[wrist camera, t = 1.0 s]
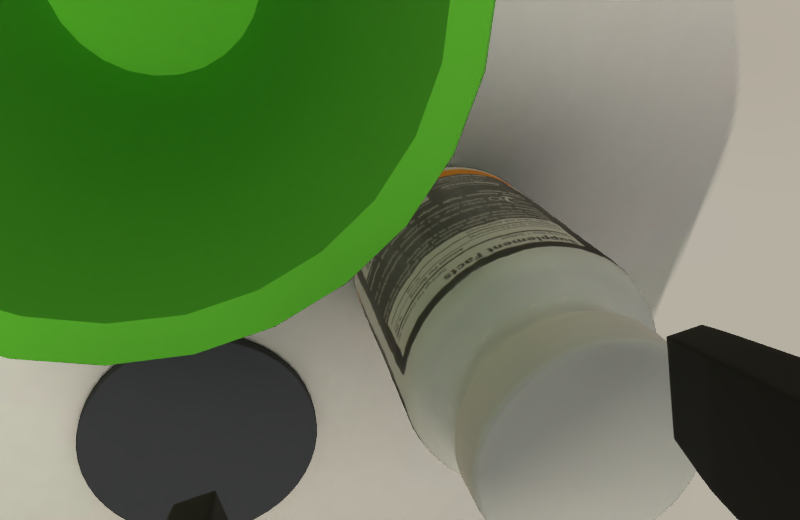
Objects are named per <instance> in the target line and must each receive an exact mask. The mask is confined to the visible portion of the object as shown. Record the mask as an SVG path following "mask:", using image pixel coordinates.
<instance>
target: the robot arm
mask: <svg viewBox="0 0 800 520" xmlns="http://www.w3.org/2000/svg"><path fill="white" fill-rule="evenodd" d="M667 350H668V364H669V378H670V392H671V406H672V420H673V434H674V440H675V441H676V442H677V444H678V445H679V447H680V448H681V449H682V451H683V452H684V454H685V455H686V457H687V458H688V459H689V461H690V462H691V464H692V465H693V467H694V468H695V469H696V471H697V472H698V473H699V475H700V476H701V477H702V479H703V480H704V481H705V483H706V484H707V485H708V487H709V488H710V489H711V490H712V492H713V493H714V494H715V495H716V496H717V497H718V498H719V500H721V502H722V503H723V504H724V505H725V506H726V507H727V508H728V509H729V510H730V511H731V512H732V514H733V515H734V516H735V517H736V518H737V519H738V520H800V357H797V356H794V355H791V354H788V353H786V352H783V351H780V350H777V349H774V348H771V347H768V346H765V345H763V344H759V343H757V342H754V341H751V340H747V339H745V338H742V337H739V336H736V335H733V334H730V333H727V332H724V331H721V330H718V329H715V328H711V327H707V326H704V325H700V326H697V327H694V328H691V329H688V330H685V331H682V332H679V333H676V334H673V335H670V336H667ZM166 520H228V518H227V516H226V513H225V511H224V509H223V507H222V504H221V502H220V500H219V497H218V495H217V493H216V490H214V491H211V492H209V493H206V494H203V495H200V496H197V497H194V498H191V499H188V500H185V501H182V502H179V503H176V504H174V505H173V507H172V508H171V510H170V512H169V514H168V516H167V518H166Z"/></svg>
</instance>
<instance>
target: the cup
mask: <svg viewBox="0 0 800 520" xmlns="http://www.w3.org/2000/svg"><path fill="white" fill-rule="evenodd" d="M495 1H496V0H0V356H2V357H6V358H10V359H22V360H36V361H49V362H63V363H77V364H91V365H104V366H106V365H114V364H122V363H130V362H137V361H145V360H153V359H161V358H169V357H177V356H185V355H193V354H197V353H199V352H202V351H205V350H208V349H211V348H214V347H217V346H220V345H223V344H226V343H229V342H231V341H234V340H237V339H240V338H243V337H246V336H249V335H252V334H255V333H258V332H261V331H264V330H266V329H269V328H272V327H275V326H277V325H278V324H280V323H281V322H283V321H285V320H286V319H288V318H290V317H291V316H293V315H295V314H296V313H298V312H300V311H301V310H303V309H305V308H306V307H308V306H310V305H311V304H313V303H315V302H316V301H318V300H319V299H321V298H323V297H324V296H326V295H328V294H329V293H331V292H333V291H334V290H336V289H338V288H339V287H341V286H343V285H344V284H346V283H347V282H348V281H349V280H350V279H351V278H352V277H354V276H355V275H356V274H357V273H358V272H359V271H360V270H361V269H362V268H363V267H364V266H365V265H366V264H367V263H368V262H369V261H370V260H371V259H372V258H373V257H374V256H375V255H376V254H378V253H379V252H380V251H381V250H382V249H383V248H384V247H385V246H386V245H387V244H388V243H389V242H390V241H391V240H392V239H393V238H394V237H395V236H396V235H397V234H398V233H399V232H400V231H402V230H403V229H404V228H405V227H406V226H407V225H408V223H409V222H410V220H411V218H412V217H413V215H414V214H415V212H416V211H417V209H418V208H419V206H420V205H421V203H422V202H423V200H424V199H425V197H426V196H427V194H428V193H429V191H430V190H431V188H432V187H433V185H434V184H435V182H436V181H437V179H438V178H439V176H440V175H441V173H442V172H443V170H444V169H445V167H446V166H447V164H448V163H449V161H450V159H451V158H452V156H453V155H454V152H455V150H456V147H457V145H458V142H459V139H460V137H461V134H462V131H463V129H464V126H465V123H466V121H467V118H468V116H469V113H470V110H471V108H472V105H473V102H474V100H475V97H476V94H477V92H478V89H479V87H480V84H481V81H482V79H483V76H484V73H485V69H486V62H487V55H488V49H489V42H490V35H491V28H492V21H493V14H494V8H495Z"/></svg>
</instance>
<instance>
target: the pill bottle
mask: <svg viewBox="0 0 800 520" xmlns="http://www.w3.org/2000/svg"><path fill="white" fill-rule="evenodd" d="M354 280H355V285H356V289H357V293H358V296H359V299H360V302H361V305H362V307H363V310H364V313H365V316H366V318H367V320H368V322H369V325H370V327H371V330H372V332H373V334H374V337H375V339H376V341H377V343H378V345H379V348H380V350H381V352H382V354H383V357H384V359H385V361H386V364H387V366H388V368H389V371H390V374H391V377H392V379H393V382H394V384H395V386H396V388H397V391H398V393H399V396H400V398H401V401H402V403H403V405H404V408H405V410H406V412H407V415H408V418H409V420H410V422H411V425H412V427H413V429H414V430H415V432H416V434H417V436H418V437H419V439H420V440H421V441H422V442H423V444H424V445H425V446H426V447H427V448H428V449H429V451H430V452H431V453H432V454H433V455H434V456H435V457H436V458H437V459H438V460H439V461H441V462H442V463H443V464H445V465H446V466H447V467H449V468H450V469H452V470H454V471H455V472H457V473H459V474H461V476H462V478H463V480H464V482H465V484H466V485H467V487H468V489H469V491H470V493H471V495H472V497H473V499H474V501H475V503H476V505H477V507H478V509H479V510H480V512H481V513H482V515H483V516H484V518H485V519H486V520H655V519H656V518H658V517H659V516H660V515H661V514H663V513H664V512H665V511H666V510H667V509H668V508H669V507H670V506H671V505H672V504H673V503H674V502H675V501H676V500H677V499H678V497H679V496H680V495H681V494H682V492H683V491H684V490H685V488H686V487H687V485H688V484H689V483H690V481H691V479H692V477H693V476H694V474H695V472H696V469H695V468H694V467H693V465H692V464H691V462H690V461H689V459H688V458H687V457H686V455H685V454H684V452H683V451H682V449H681V448H680V447H679V445H678V444H677V442H676V441H675V440H674V434H673V420H672V406H671V392H670V378H669V364H668V350H667V341H665V340H664V339H663V338H662V337H661V336H659V335H658V334H657V333H656V329H655V324H654V320H653V317H652V314H651V311H650V309H649V307H648V305H647V302H646V301H645V299H644V297H643V295H642V293H641V292H640V290H639V289H638V287H637V286H636V285H635V283H634V282H633V280H632V279H631V278H630V277H629V276H628V275H627V274H626V272H625V271H624V270H623V269H622V268H620V267H619V266H618V265H617V264H616V263H615V262H614V261H612V260H611V259H610V258H608V257H607V256H605V255H604V254H603V253H601V252H600V251H599V250H598V249H596V248H594V247H593V246H592V245H590V244H589V243H588V242H586V241H584V240H583V239H582V238H581V237H579V236H578V235H577V234H575V233H574V232H573V231H572V230H571V229H569V228H568V227H567V226H566V225H564V224H563V223H561V222H560V221H559V220H557V219H556V218H555V217H553V216H552V215H550V214H549V213H548V212H547V211H545V210H544V209H543V208H542V207H540V206H539V205H538V204H536V203H534V202H533V201H532V200H530V199H529V198H528V197H526V196H525V195H524V194H523V193H522V192H520V191H519V190H517V189H516V188H514V187H512V186H511V185H510V184H508V183H506V182H505V181H503V180H502V179H500V178H498V177H496V176H494V175H492V174H489V173H487V172H484V171H481V170H478V169H472V168H465V167H446V168H445V169H444V170H443V172H442V173H441V175H440V176H439V178H438V179H437V181H436V182H435V184H434V185H433V187H432V188H431V190H430V191H429V193H428V194H427V196H426V197H425V199H424V200H423V202H422V203H421V205H420V206H419V208H418V209H417V211H416V212H415V214H414V215H413V217H412V218H411V220H410V222H409V223H408V225H407V226H406V227H405V228H404V229H403V230H402V231H400V232H399V233H398V234H397V235H396V236H395V237H394V238H393V239H392V240H391V241H390V242H389V243H388V244H387V245H386V246H385V247H384V248H383V249H382V250H381V251H380V252H379V253H378V254H376V255H375V256H374V257H373V258H372V259H371V260H370V261H369V262H368V263H367V264H366V265H365V266H364V267H363V268H362V269H361V270H360V271H359V272H358V273H357V274H356V275H355V276H354Z"/></svg>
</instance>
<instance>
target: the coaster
mask: <svg viewBox="0 0 800 520" xmlns="http://www.w3.org/2000/svg"><path fill="white" fill-rule="evenodd" d="M316 437H317V423H316V416H315V411H314V406H313V403H312V400H311V397H310V394H309V392H308V390H307V388H306V386H305V384H304V383H303V381H302V380H301V379H300V377H299V376H298V374H297V373H296V372H295V371H294V370H293V369H292V368H291V367H290V366H289V365H288V364H287V363H286V362H285V361H283V360H282V359H281V358H280V357H278V356H277V355H275V354H274V353H272V352H270V351H269V350H267V349H265V348H263V347H261V346H259V345H256V344H254V343H252V342H249V341H245V340H242V339H237V340H234V341H231V342H229V343H226V344H223V345H220V346H217V347H214V348H211V349H208V350H205V351H202V352H199V353H197V354H193V355H185V356H177V357H169V358H161V359H153V360H145V361H137V362H130V363H122V364H116V365H115V366H114V367H112V368H111V369H110V370H109V371H108V372H107V373H106V374H105V375H104V376H103V377H102V378H101V379H100V381H99V382H98V383H97V385H96V386H95V387H94V389H93V390H92V392H91V393H90V395H89V397H88V399H87V401H86V402H85V405H84V408H83V410H82V413H81V416H80V419H79V424H78V429H77V434H76V452H77V459H78V463H79V466H80V470H81V473H82V475H83V477H84V479H85V481H86V483H87V485H88V486H89V488H90V489H91V490H92V492H93V493H94V495H95V496H96V497H97V498H98V499H99V500H100V501H101V502H102V503H103V504H104V505H105V506H106V507H107V508H109V509H110V510H111V511H113V512H114V513H115V514H117V515H118V516H120V517H122V518H124V519H125V520H166V518H167V516H168V514H169V512H170V510H171V508H172V507H173V505H174V504H176V503H179V502H182V501H185V500H188V499H191V498H194V497H197V496H200V495H203V494H206V493H209V492H211V491H214V490H216V493H217V495H218V497H219V500H220V502H221V504H222V507H223V509H224V511H225V513H226V516H227V518H228V520H253V519H255V518H257V517H259V516H261V515H262V514H264V513H266V512H267V511H269V510H270V509H272V508H273V507H274V506H276V505H277V504H278V503H280V502H281V501H282V500H283V499H284V498H285V497H286V496H287V495H288V494H289V493H290V492H291V491H292V490H293V489H294V488H295V486H296V485H297V484H298V483H299V481H300V480H301V478H302V477H303V475H304V474H305V472H306V470H307V468H308V466H309V463H310V461H311V459H312V455H313V452H314V449H315V443H316Z"/></svg>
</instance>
